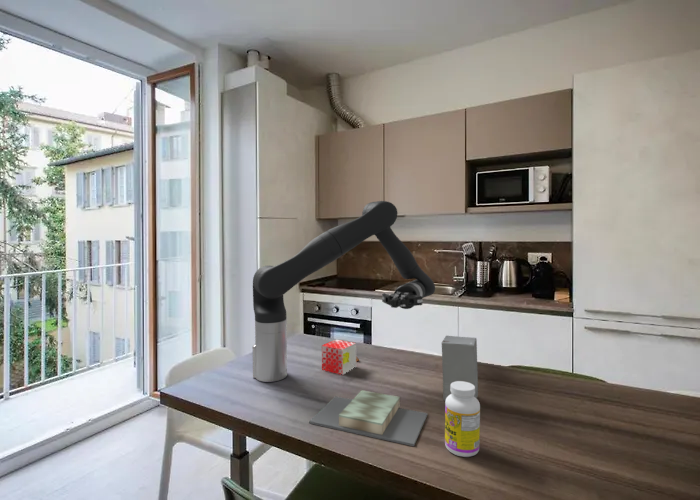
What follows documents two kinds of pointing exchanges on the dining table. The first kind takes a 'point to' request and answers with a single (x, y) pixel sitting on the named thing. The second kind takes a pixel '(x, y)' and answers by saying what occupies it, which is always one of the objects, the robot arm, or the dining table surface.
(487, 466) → the dining table surface
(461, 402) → the supplement bottle
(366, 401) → the board
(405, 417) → the mat
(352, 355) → the red white patterned cube
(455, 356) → the skincare box
